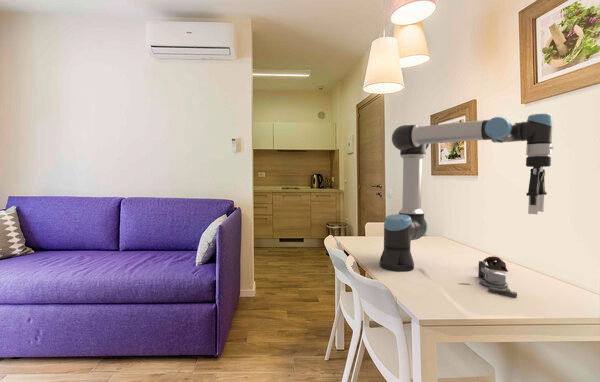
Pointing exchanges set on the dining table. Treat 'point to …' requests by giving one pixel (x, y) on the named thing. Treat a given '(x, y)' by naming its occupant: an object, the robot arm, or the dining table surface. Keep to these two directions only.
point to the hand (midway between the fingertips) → (536, 212)
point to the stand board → (498, 291)
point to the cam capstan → (491, 277)
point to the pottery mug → (495, 263)
